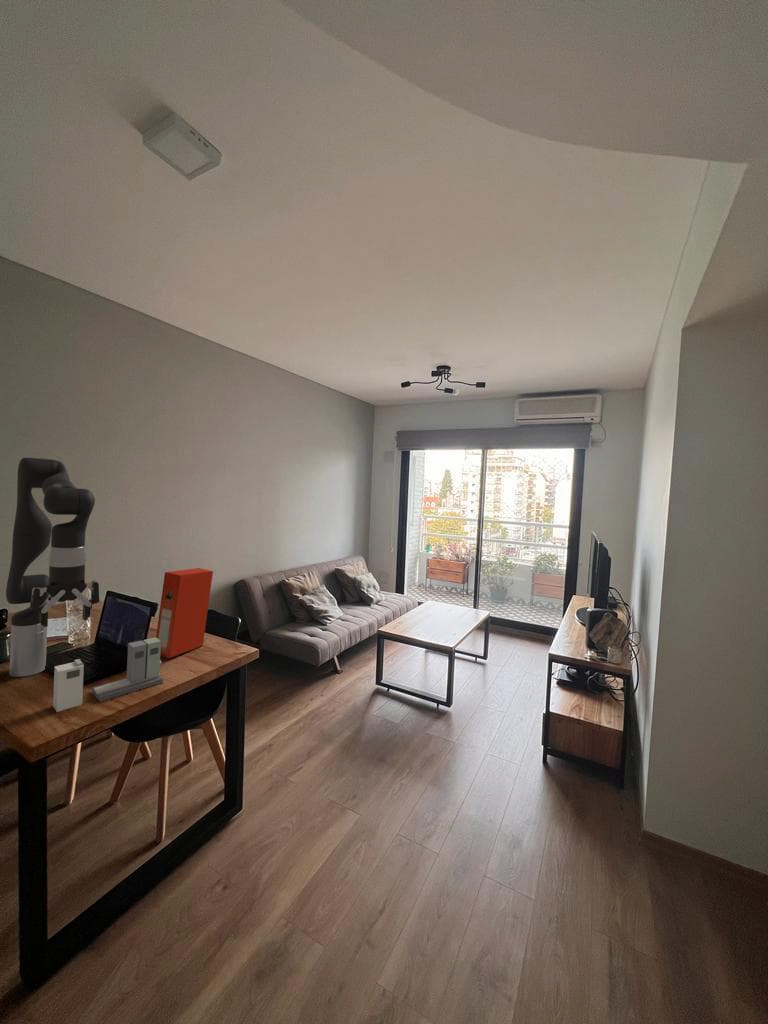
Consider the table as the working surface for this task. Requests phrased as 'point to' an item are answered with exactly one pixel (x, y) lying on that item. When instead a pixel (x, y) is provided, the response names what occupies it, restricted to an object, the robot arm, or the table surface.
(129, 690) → the board
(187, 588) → the file binder
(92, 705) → the table surface
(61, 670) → the block
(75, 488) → the robot arm
